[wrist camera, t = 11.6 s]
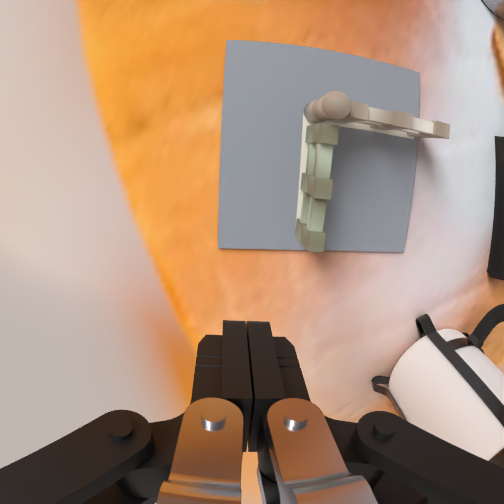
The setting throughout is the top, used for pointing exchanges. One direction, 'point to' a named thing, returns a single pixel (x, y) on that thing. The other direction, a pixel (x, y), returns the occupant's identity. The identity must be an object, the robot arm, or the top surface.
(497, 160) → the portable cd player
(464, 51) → the top surface
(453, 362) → the coffee press
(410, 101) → the card
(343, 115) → the fence base
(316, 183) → the hinged panel
